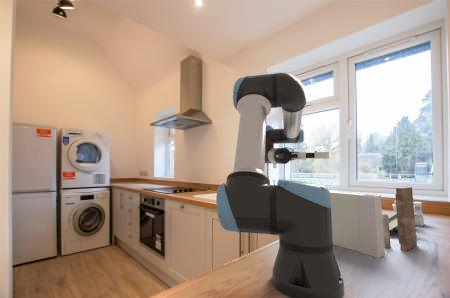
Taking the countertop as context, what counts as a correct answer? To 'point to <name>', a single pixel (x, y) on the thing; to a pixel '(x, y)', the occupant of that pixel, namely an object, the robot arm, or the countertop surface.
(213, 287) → the countertop surface
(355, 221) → the cream thick square slab
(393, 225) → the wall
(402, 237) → the walnut cabinet side
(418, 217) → the light bulb box
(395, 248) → the countertop surface
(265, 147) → the robot arm
